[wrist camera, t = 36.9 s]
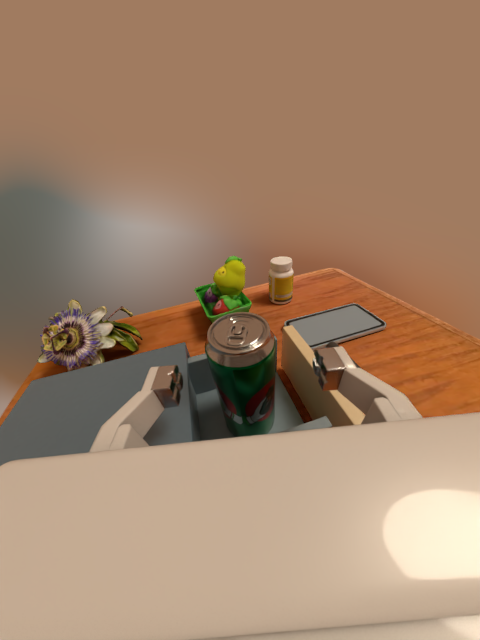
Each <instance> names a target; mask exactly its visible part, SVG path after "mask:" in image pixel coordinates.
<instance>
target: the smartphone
mask: <svg viewBox="0 0 480 640" xmlns="http://www.w3.org/2000/svg"><path fill="white" fill-rule="evenodd" d="M290 325H292V326H293V327H294V328H295V329H296V331H297V332H298V333H299V334H300V336H301V337H302V338H303V339H304V341H305V342H306V343H307V344H308V345H309V347H310V348H311V349H312V350H315V349H320V348H324V347H325V346H326V345H327V344H328V343H329V342H332V341H334V342H336V343H337V344H338V343H341V342H344V341H347V340H351V339H354V338H357V337H361V336H364V335H367V334H371V333H374V332H377V331H380V330H384V329H385V327H386V325H387V324H386V322H384V321H383V320H381V319H380V318H378V317H377V316H375V315H374V314H372V313H371V312H369V311H368V310H366V309H365V308H363V307H362V306H360V305H358V304H348V305H344V306H340V307H337V308H333V309H329V310H325V311H321V312H317V313H314V314H310V315H306V316H302V317H298V318H294V319H291V320H287V321H285V323H284V327H286V326H290Z"/></svg>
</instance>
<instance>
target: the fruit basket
mask: <svg viewBox="0 0 480 640" xmlns="http://www.w3.org/2000/svg"><path fill="white" fill-rule="evenodd" d="M241 261H242V259H241V258H238V257H236V256H232V257H229V258H228V259H227V260H226V262H225V265H224V266H222V267H221V268H219V269H218V270H217V271H216V273H215V274H214V278H213V280H214V282H215V283H212V284H208V285H204V286H201V287H198V288H196V289H195V290H194V291H195V293H196V294H197V296H198V299H199V301H200V303H201V305H202V307H203V309H204V311H205V313H206V315H207V317H208V319H209V320H210V321H211V322H212V323H213V322H214V321H216V320H217V319H218V318H220V317H222V316H224V315H227V314H230V313H235V312H249V309H250V307H251V304H252V302H251V301H250V300H249V299H248V298H247V297H246V296H245V295H244V294H243V292H242V290H243V288H244V285H245V266H244V264H243V263H242V262H241Z"/></svg>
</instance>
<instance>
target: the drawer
mask: <svg viewBox="0 0 480 640" xmlns="http://www.w3.org/2000/svg"><path fill="white" fill-rule="evenodd" d="M275 342H276V353H275V419H274V424H273V426H272V428H271V430H270V431H269V433H268V434H273V433H282V432H292V431H302V430H311V429H321V428H331V427H341V426H350V425H360V424H361V423H362V421H363V419H364V417H365V415H364V414H363V413H362V411H361V410H359V409H358V408H357V407H356V406H355V405H354V404H352V403H351V402H350V401H349V400H348V399H347V398H345V397H344V396H343V395H342V394H341V393H340V392H339V391H337V390H328V391H322V389H321V386H320V384H319V382H318V379H319V377H318V376H317V375H315V373H314V370H313V364H312V362H313V358H314V357H315V355H314V351H315V350H312V349H311V348H310V347H309V345H308V344H307V343H306V342H305V341H304V339H303V338H302V337H301V336H300V334H299V333H298V332H297V331H296V329H295V328H294V327H293V326H292V325H290V326H286V327H283V336H282V360H281V366H282V368H283V369H284V371H285V373H286V375H287V376H288V378H289V380H290V382H291V383H292V385H293V387H294V388H295V390H296V392H297V394H298V395H299V397H300V399H301V401H302V402H303V404H304V406H305V408H306V409H307V411H308V413H309V415H310V416H311V418H312V420H313V421H310V422H307V423H304V422H303V420H302V418H301V416H300V414H299V413H298V411H297V409H296V407H295V405H294V403H293V401H292V400H291V398H290V396H289V394H288V392H287V390H286V388H285V386H284V385H283V383H282V381H281V379H280V377H279V375H278V373H277V371H276V367H277V339H276V337H275ZM330 347H339V345H338V344H337V343H336V342H334V341H332V342H329V343H328V344H327V345H326V346H325V347H324V348H330ZM320 349H322V348H320ZM351 360H352V359H351ZM352 361H353V360H352ZM353 363H354V364H355V366H356V367H357V368H360V367H359V366H358V365H357V364H356V363H355V362H354V361H353ZM188 368H189V380H190V392H191V404H192V416H193V428H194V440H195V441H205V440H214V439H224V438H234V437H235V436H234V435H233V434H232V433H231V432H230V431H229V429H228V427H227V424H226V421H225V418H224V414H223V411H222V407H221V404H220V401H219V397H218V394H217V390H216V387H215V383H214V380H213V376H212V373H211V370H210V366H209V363H208V359H207V356H206V353H205V354H201V355H198V356H194V357H190V358H188Z"/></svg>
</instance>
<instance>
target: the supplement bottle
mask: <svg viewBox="0 0 480 640" xmlns="http://www.w3.org/2000/svg"><path fill="white" fill-rule="evenodd" d="M270 265H271V269H270V271H269V299H270V301H271V302H273V303H275V304H286V303H288V302H290V301H291V300H292V291H293V275H294V271H293V269H292V259H291V258H289V257H276V258H273V259H272V260H271V264H270Z"/></svg>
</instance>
